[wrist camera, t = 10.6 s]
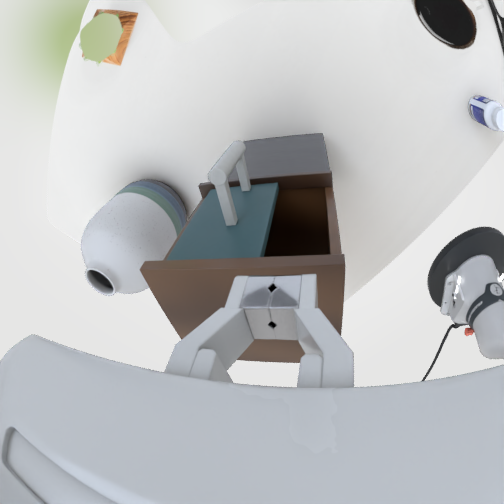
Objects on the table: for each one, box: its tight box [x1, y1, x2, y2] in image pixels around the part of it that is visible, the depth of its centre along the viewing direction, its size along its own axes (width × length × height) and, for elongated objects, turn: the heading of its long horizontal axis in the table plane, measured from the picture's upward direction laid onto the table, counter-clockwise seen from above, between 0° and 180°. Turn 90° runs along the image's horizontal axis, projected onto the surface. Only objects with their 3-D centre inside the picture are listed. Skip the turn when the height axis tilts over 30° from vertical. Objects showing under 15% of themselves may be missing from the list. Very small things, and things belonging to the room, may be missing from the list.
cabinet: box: [139, 133, 345, 363], centre depth 34 cm, size 12×14×35 cm
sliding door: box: [167, 141, 279, 260], centre depth 22 cm, size 6×7×12 cm
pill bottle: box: [468, 95, 504, 132], centre depth 28 cm, size 5×5×9 cm
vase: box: [81, 180, 187, 296], centre depth 50 cm, size 17×17×24 cm
